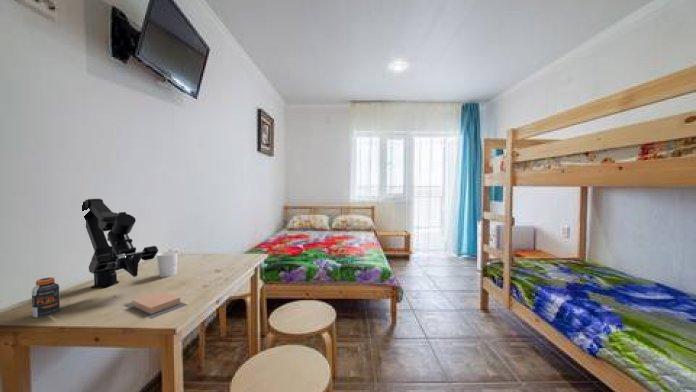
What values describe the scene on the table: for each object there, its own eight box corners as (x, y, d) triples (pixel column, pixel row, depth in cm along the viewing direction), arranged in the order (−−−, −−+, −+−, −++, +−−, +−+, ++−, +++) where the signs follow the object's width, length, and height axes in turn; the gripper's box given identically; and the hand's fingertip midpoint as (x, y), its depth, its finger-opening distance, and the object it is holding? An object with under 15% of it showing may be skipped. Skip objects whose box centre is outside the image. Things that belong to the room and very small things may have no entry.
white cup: (182, 273, 128) (181, 252, 128) (166, 278, 121) (165, 256, 120) (169, 271, 131) (169, 250, 130) (153, 276, 123) (152, 254, 123)
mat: (123, 306, 93) (123, 305, 93) (158, 294, 103) (158, 293, 103) (151, 319, 84) (151, 318, 84) (187, 305, 93) (187, 304, 93)
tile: (132, 300, 92) (150, 307, 86) (161, 290, 100) (180, 297, 94) (132, 306, 92) (150, 315, 86) (161, 297, 100) (180, 304, 94)
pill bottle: (35, 319, 84) (33, 283, 84) (30, 315, 88) (28, 280, 87) (62, 312, 89) (60, 277, 89) (57, 307, 93) (55, 274, 92)
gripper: (142, 250, 116) (156, 280, 111) (83, 260, 100) (96, 297, 95) (151, 233, 111) (166, 264, 106) (90, 242, 95) (105, 279, 90)
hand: (135, 276), depth 100 cm, fingers closed
